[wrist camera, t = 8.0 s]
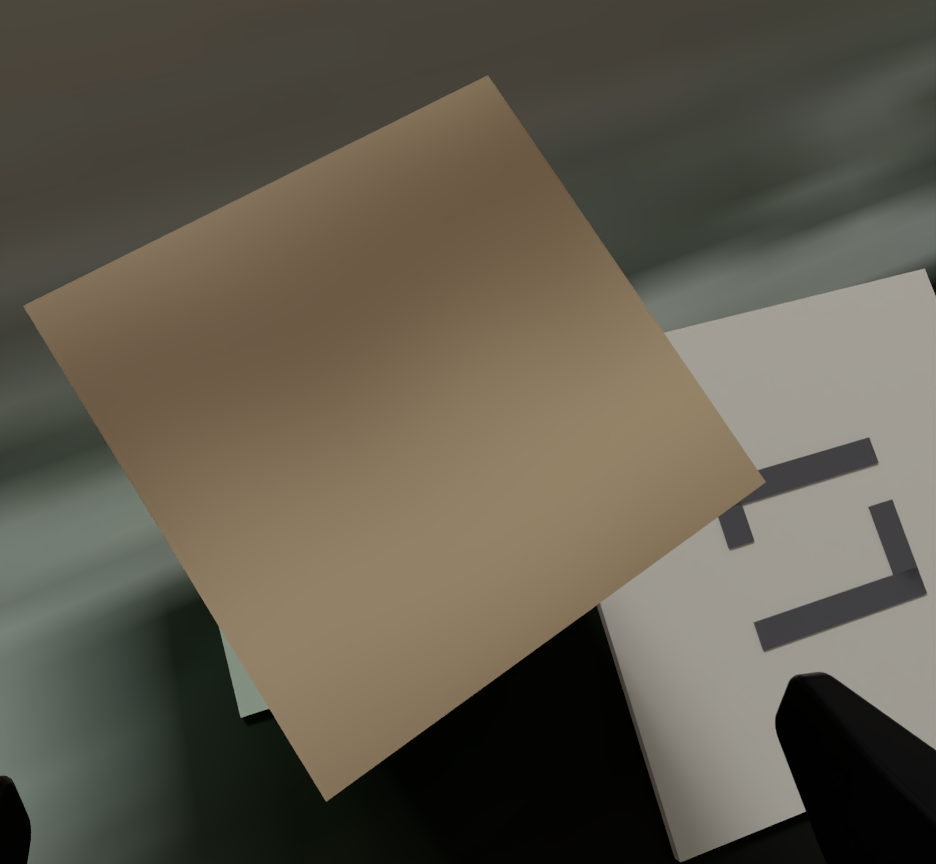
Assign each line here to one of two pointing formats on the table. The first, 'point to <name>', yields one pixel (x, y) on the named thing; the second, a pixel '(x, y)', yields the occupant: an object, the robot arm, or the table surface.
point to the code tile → (791, 554)
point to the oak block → (395, 422)
